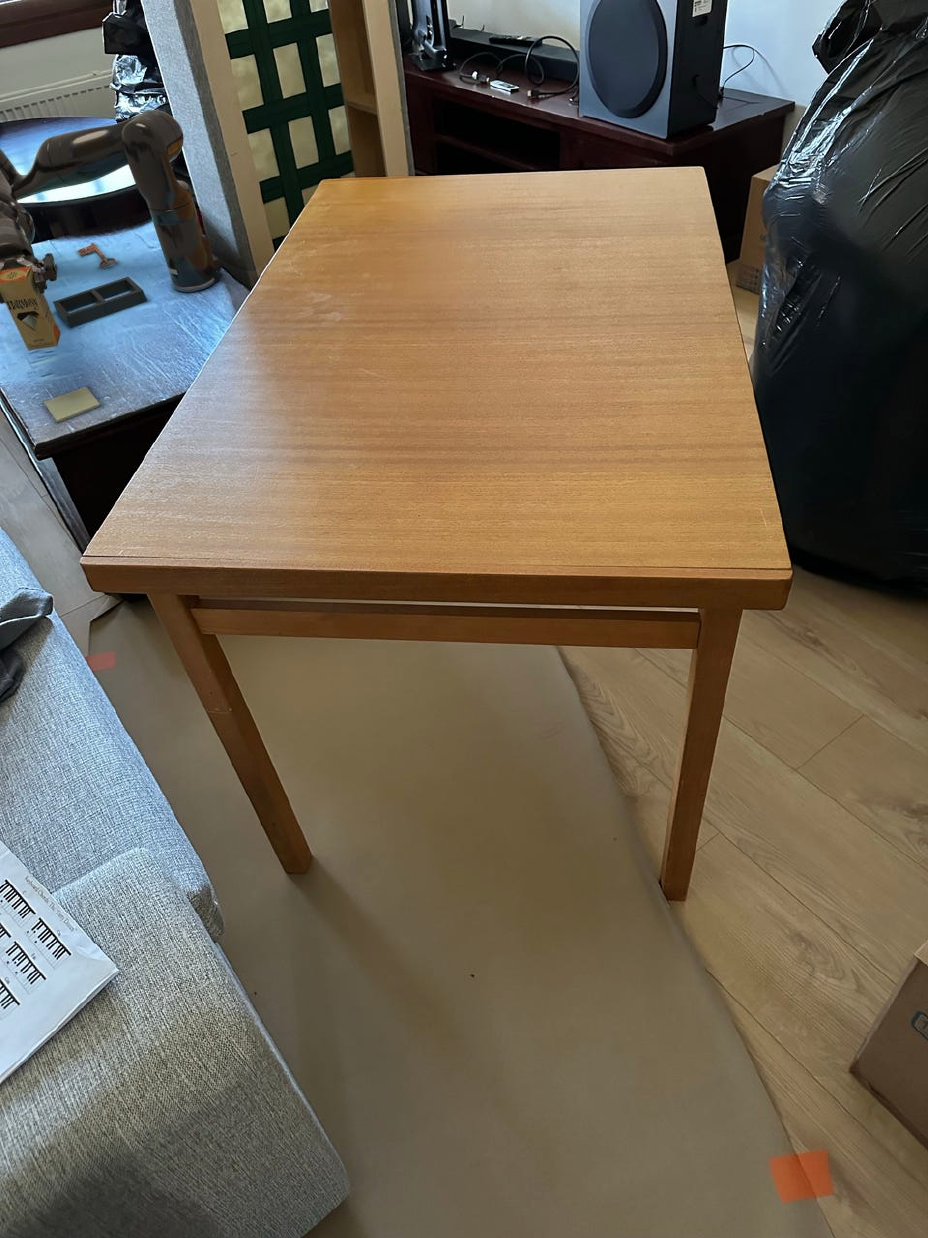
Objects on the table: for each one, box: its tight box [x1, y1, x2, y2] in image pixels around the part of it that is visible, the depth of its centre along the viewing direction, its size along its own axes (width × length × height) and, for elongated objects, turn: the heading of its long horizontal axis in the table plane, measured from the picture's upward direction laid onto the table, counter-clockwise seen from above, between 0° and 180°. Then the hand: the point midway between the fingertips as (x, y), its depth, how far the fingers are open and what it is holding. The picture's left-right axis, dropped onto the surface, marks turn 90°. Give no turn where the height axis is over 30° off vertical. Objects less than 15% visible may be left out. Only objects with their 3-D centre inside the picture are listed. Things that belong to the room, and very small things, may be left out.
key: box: [77, 242, 116, 268], centre depth 199 cm, size 6×1×15 cm
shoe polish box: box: [0, 266, 61, 352], centre depth 143 cm, size 5×5×12 cm
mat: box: [43, 386, 101, 423], centre depth 154 cm, size 8×8×1 cm
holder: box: [52, 276, 147, 329], centre depth 180 cm, size 17×9×2 cm, turn 126°
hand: (20, 292), depth 139 cm, fingers closed on shoe polish box, 6 cm apart
